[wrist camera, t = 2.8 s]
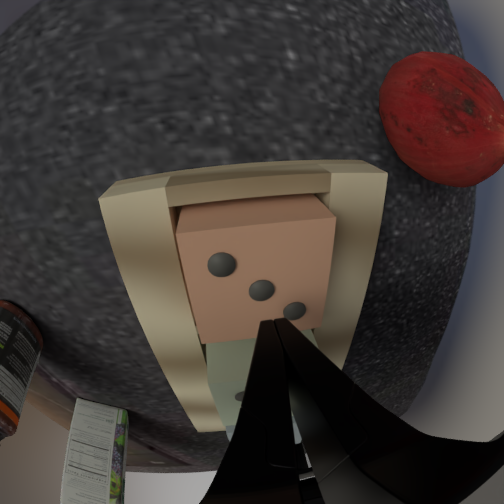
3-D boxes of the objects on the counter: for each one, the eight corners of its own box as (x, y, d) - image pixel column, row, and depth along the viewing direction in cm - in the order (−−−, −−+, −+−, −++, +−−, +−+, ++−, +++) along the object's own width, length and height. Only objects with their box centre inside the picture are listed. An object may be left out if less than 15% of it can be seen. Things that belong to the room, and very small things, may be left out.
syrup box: (129, 427, 24) (128, 535, 12) (83, 415, 23) (72, 521, 10) (127, 408, 22) (123, 537, 9) (74, 395, 20) (57, 519, 8)
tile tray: (317, 393, 24) (324, 413, 22) (197, 411, 23) (198, 432, 21) (361, 160, 12) (387, 173, 10) (116, 181, 11) (98, 199, 9)
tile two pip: (300, 376, 17) (311, 413, 15) (219, 388, 17) (223, 427, 14) (308, 322, 14) (326, 366, 12) (205, 336, 14) (207, 385, 11)
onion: (329, 125, 11) (460, 173, 5) (372, 35, 9) (504, 19, 2) (407, 176, 13) (514, 247, 6) (443, 98, 11) (556, 131, 4)
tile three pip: (303, 288, 15) (321, 328, 12) (201, 301, 14) (201, 345, 12) (309, 190, 12) (337, 218, 9) (183, 202, 11) (175, 235, 9)
